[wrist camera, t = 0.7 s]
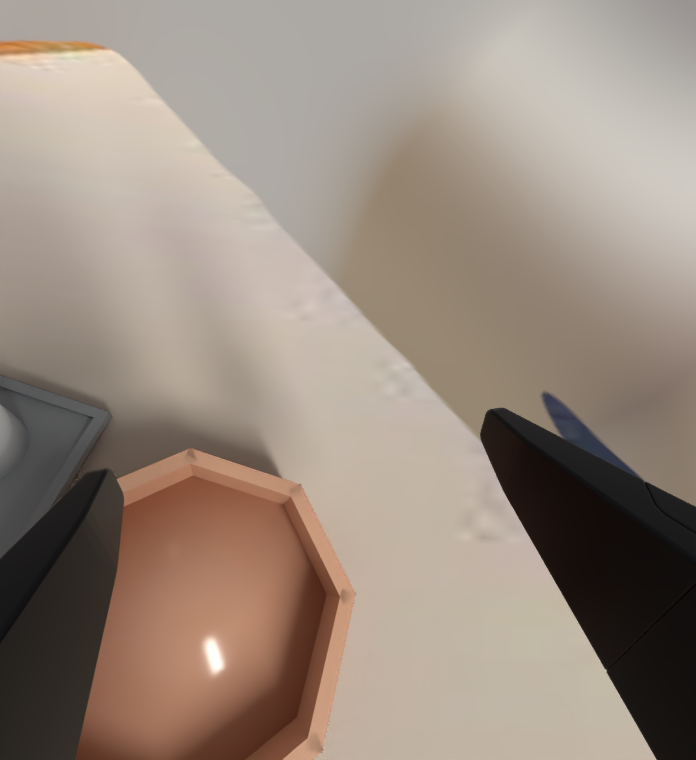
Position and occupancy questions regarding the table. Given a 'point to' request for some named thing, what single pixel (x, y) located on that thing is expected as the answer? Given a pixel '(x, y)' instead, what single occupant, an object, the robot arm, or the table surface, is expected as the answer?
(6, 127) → the table surface
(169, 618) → the terracotta bowl
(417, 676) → the table surface
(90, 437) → the parts tray
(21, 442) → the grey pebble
